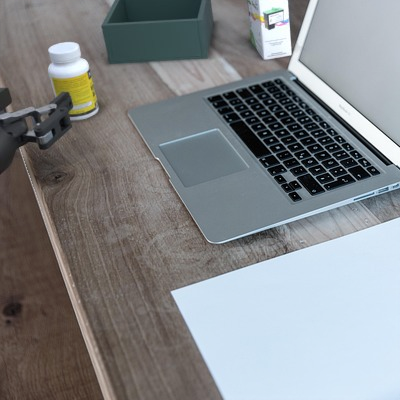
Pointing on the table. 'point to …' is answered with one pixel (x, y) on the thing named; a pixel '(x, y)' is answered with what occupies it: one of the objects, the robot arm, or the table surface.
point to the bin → (158, 30)
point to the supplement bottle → (73, 79)
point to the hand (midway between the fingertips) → (37, 96)
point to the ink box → (270, 27)
